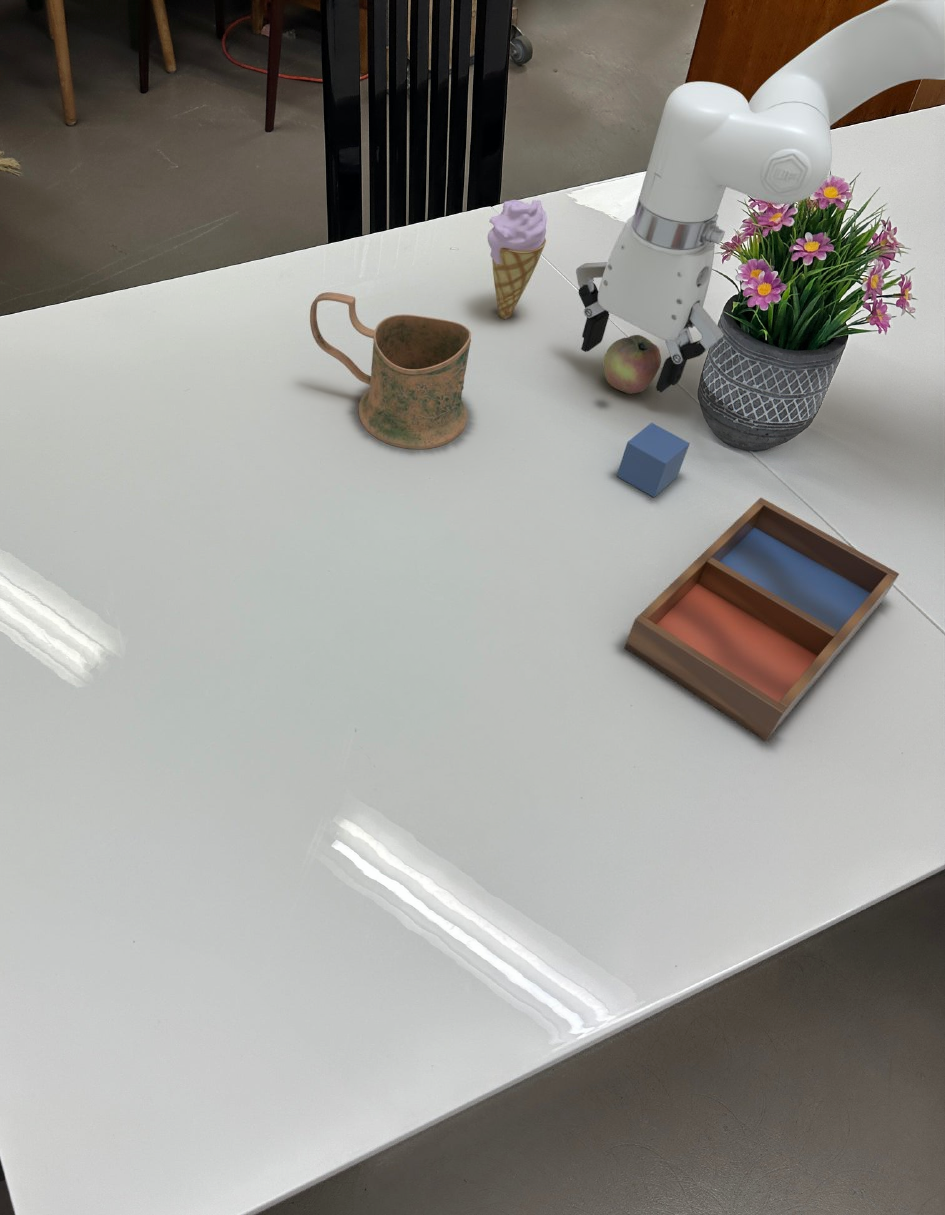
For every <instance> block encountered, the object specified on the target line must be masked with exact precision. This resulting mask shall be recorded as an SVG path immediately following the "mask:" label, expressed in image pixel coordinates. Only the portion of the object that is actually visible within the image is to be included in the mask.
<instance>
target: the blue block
mask: <svg viewBox="0 0 945 1215" xmlns="http://www.w3.org/2000/svg"><path fill="white" fill-rule="evenodd" d="M690 444H691V443H690V442H688V441H686V440H685V439H683V438H681V437H679V436H678V435H676V434H673V433H672V432H670V431H668V430H666V429H664V428H663V427H661V426H659V425H657V424H655V423H653V422H650V423H649V424H648V425H647V426H645V427H644V428H643V429H641V430H640V431H639V432H638V433H637V434H636V435H635V436H633V437H632V438H630V439H629V440H628V441H627V442H626V445H625V448H624V452H623V455H622V458H621V461H620V464H619V467H618V470H617V471H618V472H617V474H616V477H618V478H619V479H621V480H622V481H624V482H626V483H628V484H629V485H632V487H635V488H637V489H638V490H640V491H642V492H643V493H645V494H647V495H649V496H650V497H653V498H655V497H656V496H657V495H659V493H661V492H662V491H663V490H664V489H665V488H667V486H669V485H670V484H671V483H672V482H674V481H675V480H676V479H677V478H678V476H679V473H680V471H681V468H682V465H683V463H684V460H685V457H686V455H687V452H688V449H689V447H690Z"/></svg>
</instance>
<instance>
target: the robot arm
mask: <svg viewBox="0 0 945 1215" xmlns="http://www.w3.org/2000/svg"><path fill="white" fill-rule="evenodd" d="M916 80H917V81H918V80H940V81H941V80H943V81H944V80H945V0H887V1H885V2H883V3H881V4H879V5H877V6H875V7H873V8H871V9H869V10H867V11H865V12H863V13H860V14H859V15H856V16H854V17H851V19H848V20H846V21H845V22H843V23H841V24H839V25H838V26H836V27H834V28H833V29H832V30H831V31H829V32H827V33H826V34H824V35H823V36H822V37H820V38H819V39H817V40H816V41H815V42H813V43H812V44H811V45H810V46H808V47H807V48H806V49H804V50H803V51H802V52H800V53H799V54H798V55H796V56H795V57H794V58H793V59H791V60H790V61H789V62H788V63H786V64H785V65H783V66H782V67H781V68H780V69H778V70H777V71H776V72H775V73H773V74H772V75H771V76H770V77H769V78H768V79H767V80H766V81H765V82H764V83H763V84H762V85H761V86H760V87H759V88H758V89H757V90H756V92H755V93H754V94H753V95H752V97H751V98H750V100H749V102H748V100H747V99H746V97H745V96H744V95H743V94H742V93H741V92H739V91H738V90H736V89H734V88H733V87H730V86H728V85H725V84H722V83H718V82H711V81H690V82H686V83H684V84H681V85H679V86H677V87H676V88H675V89H674V90H672V92H671V93H670V95H669V96H668V98H667V100H666V102H665V105H664V108H663V111H662V115H661V118H660V122H659V126H658V129H657V133H656V136H655V138H654V144H653V147H652V150H651V154H650V157H649V161H648V165H647V168H646V171H645V175H644V177H643V178H644V179H643V182H642V185H641V189H640V193H639V195H638V201H637V203H636V207H635V211H634V214H633V215H632V216H630V217H629V218H628V219H627V220H626V222H625V224H624V226H623V228H622V229H621V232H620V234H619V235H618V236H617V239H616V241H615V242H614V243H615V244H614V245H613V248H612V250H611V252H610V255H609V257H608V260H607V261H603V262H586V263H583V264H581V265H580V266H578V267H576V268H575V275H576V280H577V285H578V286H579V287H578V288H579V289H578V291H577V292H578V295H579V298H580V299H581V302H582V304H583V307H584V309H583V314H584V316H585V317H586V320H585V323H584V327H583V331H582V333H581V334H582V335H581V337H582V338H583V341H582V344H581V348H580V350H581V351H583V352H585V353H587V352H590V351H591V350H592V349H594V348H595V347H596V346H598V345H599V344H601V343H602V341H603V339H604V335H605V332H606V328H607V324H608V321H609V317H610V314H611V315H613V316H615V317H617V318H619V319H621V320H623V321H625V322H627V323H628V324H631V325H633V326H634V327H636V328H638V329H641V330H642V331H644V332H646V333H648V334H650V335H652V336H654V337H656V338H658V339H661V340H663V341H664V342H665V345H666V348H667V351H668V352H669V357H667V358H666V359H665V360H664V363H663V364H662V368H661V371H660V374H659V377H658V380H657V384H656V386H655V389H656V391H657V392H659V393H663V392H664V391H666V390H667V389H668V388H670V386H673V387H674V386H676V385H677V384H678V383H679V382H680V380H681V378H682V376H683V373H684V370H685V367H686V365H687V363H688V362H687V361H688V360H691V359H695V358H697V357H700V356H701V355H703V354H704V353H705V352H707V351H709V350H710V348H712V347H713V346H715V345H716V344H717V343H718V342H720V341H721V340H722V339H723V338H724V332H723V330H722V329H721V328H720V327H719V325H718V324H717V322H716V321H715V320H714V319H713V318H712V317H711V316H710V315H709V312H707V310H706V309H705V308H704V304H705V300H706V297H707V292H708V290H709V285H710V281H711V276H712V271H713V265H714V258H715V247H716V245H719V244H720V243H721V242H722V240H723V239H724V236H725V235H726V231H725V230H723V229H722V228H720V226H718V225H717V221H718V218H719V214H718V212H719V209H720V206H721V203H722V200H723V198H724V194H725V192H726V189H727V188H728V189H730V190H733V191H735V192H738V193H741V194H743V195H745V196H749V197H751V198H754V199H756V200H758V201H763V202H766V203H770V204H775V205H790V204H795V203H799V202H802V201H804V200H806V199H808V198H810V197H811V196H813V195H814V194H815V193H816V192H818V190H819V189H820V188H822V186H823V185H824V183H825V182H826V180H827V178H828V176H829V173H830V171H831V167H832V161H833V147H832V137H831V136H832V134H831V126H832V125H833V124H835V123H837V122H838V121H839V120H840V119H842V118H843V117H845V116H846V115H848V114H850V113H851V112H852V111H853V110H854V109H856V108H858V107H859V106H860V105H862V104H863V103H865V102H867V101H869V100H870V99H871V98H873V97H875V96H877V95H879V94H880V93H882V92H884V91H886V90H888V89H890V88H893V87H895V86H898V85H900V84H904V83H907V82H910V81H916ZM594 278H595V279H597V278H601V279H600V282H599V287H597V285H596V284H595V283H594V281H595V279H594ZM694 327H695V329H696V330H697V331H698V332H699V333H700V335H701V338H700V339H699V340H695V341H694V339H693V336H692V333H691V330H690V329H693V328H694Z"/></svg>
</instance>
